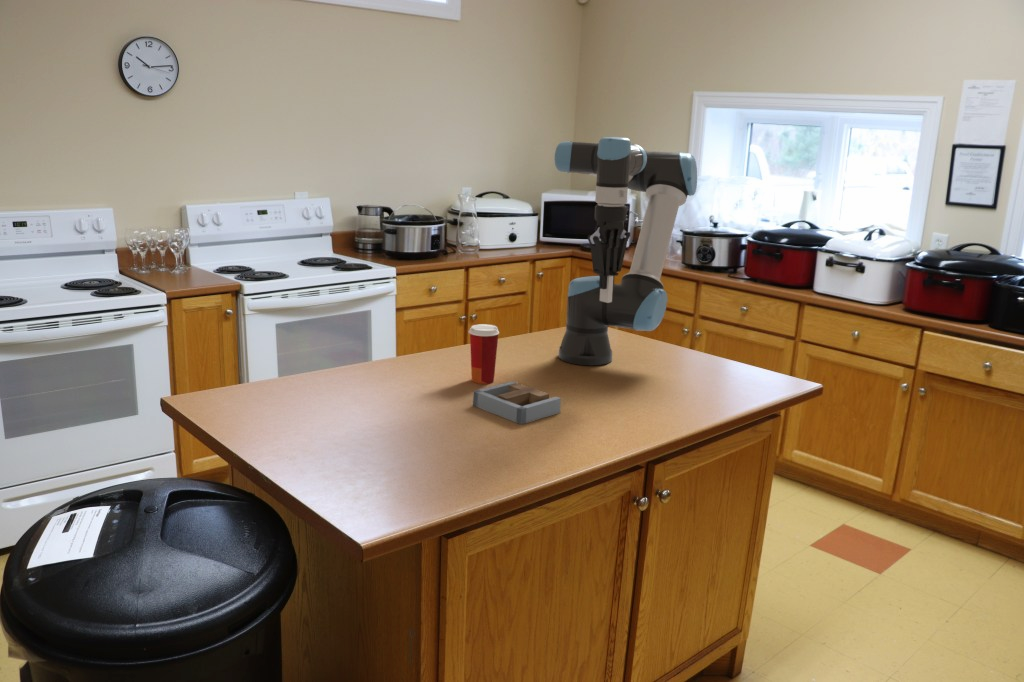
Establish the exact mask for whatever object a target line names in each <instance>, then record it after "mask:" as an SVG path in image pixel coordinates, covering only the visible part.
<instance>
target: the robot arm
mask: <svg viewBox="0 0 1024 682" xmlns="http://www.w3.org/2000/svg"><path fill="white" fill-rule="evenodd" d="M554 165H555V168H556V169H557V170H558V172H562V173H568V174H570V173H572V174H573V173H576V174H581V175H587V176H592V177H595V178H596V182H595V183H596V185H595V199H594V201H595V203H597V204H596V205H595V206H594V220H595V221H596V226H595V228H594V231H595V232H594V233H592V234H589V235H587V241H588V243H589V246H590V255H591V261H592V262H591V263H592V270H593V273H594V274H596V275H591V276H590V275H589V276H584V277H583V276H582V277H577V278H574V279H572V280H571V281H570V282H569V284H568V289H567V290H568V293H567V301H566V302H567V303H566V304H567V305H566V323H565V324H566V326H565V327H566V328H565V332H564V335H563V337H562V340H561V343H560V346H559V347H558V359H559V360H561V361H563V362H565V363H568V364H573V365H579V366H602V365H606V364H610V363H611V362H612V360H613V350H612V349H611V342H610V337H609V334H608V333H609V332H608V331H609V330H608V329H609V327H615V328H623V329H629V330H634V331H638V332H639V331H640V332H641V331H642V332H643V331H645V332H651V331H655V330H656V328H658V326H659V325H660V324H661V322H662V321H663V319H664V316H665V313H666V310H667V304H668V294H667V292H666V290H664V284H663V282H662V281H661V277H662V272H663V269H664V265H665V262H666V257H667V254H668V250H669V246H670V243H671V238H672V234H673V232H674V231H673V230H674V227H675V222H676V219H677V215H678V212H679V208H680V207H681V206H683V205H684V204H685V203H686V202H687V198H688V196H689V197H691V196H694V195H695V194H696V192H697V186H698V168H697V161H696V159H695V156H694V155H693V154H691V153H687V152H680V151H677V152H672V151H671V152H670V151H669V152H668V151H654V150H653V151H652V150H644V148H643V147H642V146H640V145H639V144H636V143H631V140H630V139H629V138H628V137H622V136H621V137H620V136H619V137H618V136H604V137H601V138H600V139H599V140H598V143H597V142H596V143H595V142H583V141H582V142H581V141H579V142H578V141H573V140H571V141H561V142H559V143H558V145H556V147H555V152H554ZM629 190H633V191H636V192H641V193H643V192H644V193H645V196H646V197H647V199H648V203H647V206H646V210H645V213H644V217H643V222H642V224H641V228H640V232H639V235H638V240H637V243H636V247H635V249H634V254H633V258H632V261H631V265H630V269H629V271H628V272H627V273H625V274H624V275H622V277H621V280H620V283H615V276H619V273H620V272H621V271H622V268H623V264H624V258H625V253H626V249H627V245H628V241H629V240H630V237H631V232H630V231H626V230H625V226H624V223H625V222H626V220H627V213H628V207H627V206H626V204H628V194H629V193H628V191H629Z"/></svg>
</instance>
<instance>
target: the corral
mask: <svg viewBox="0 0 1024 682" xmlns="http://www.w3.org/2000/svg"><path fill="white" fill-rule="evenodd" d="M514 384H518V383H517V382H516V381H508V382H505V383H501V384H497V385H493V386H489V387H484V388H482V389H477V390H473V393H472V395H473V398H472V405H473V407H476V408H479V409H481V410H483V411H486V412H488V413H491V414H494V415H496V416H498V417H501V418H503V419H506V420H509V421H511V422H513V423H517V424H519V425H524V424H527V423H531V422H534V421H538V420H540V419H544V418H547V417H551V416H554V415H557V414H561V408H562V407H561V406H562V405H561V403H562V398H561V397H558V396H553V397H549V399H546V400H542V401H539V402H535V403H532V404H528V405H525V406H520V405H517V404H514V403H512V402H509V401H506V400H504V399H501V398H498V395H501V394H504V393H508V392H509V391H510V385H514Z"/></svg>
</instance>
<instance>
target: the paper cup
mask: <svg viewBox="0 0 1024 682" xmlns="http://www.w3.org/2000/svg"><path fill="white" fill-rule="evenodd" d="M467 332H468V334H469V340H470V343H469V344H470V368H471V370H470V371H471V382H473V383H475V384H479V385H480V384H481V385H487V384H492V383H494V381H495V371H496V364H497V351H498V340H499V334H500V331H499V327H498V326H496V325H495V324H486V323H481V324H479V323H478V324H473V325H471V327H470V328H469V330H468V331H467Z"/></svg>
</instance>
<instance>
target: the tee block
mask: <svg viewBox="0 0 1024 682" xmlns="http://www.w3.org/2000/svg"><path fill="white" fill-rule="evenodd" d="M498 398H501V399H504V400H506V401H509V402H512V403H514V404H517V405H520V406H525V405H528V404H532V403H535V402H539V401H542V400H546V399H549V398H550V393H548V392H544V391H541V390H539V389H536V388H534V387H530V386H529V385H528V386H527V385H524V384H522V383H519V382H518V383H517V384H514V385H510V391H509V392H508V393H504V394H501V395H498Z"/></svg>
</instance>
